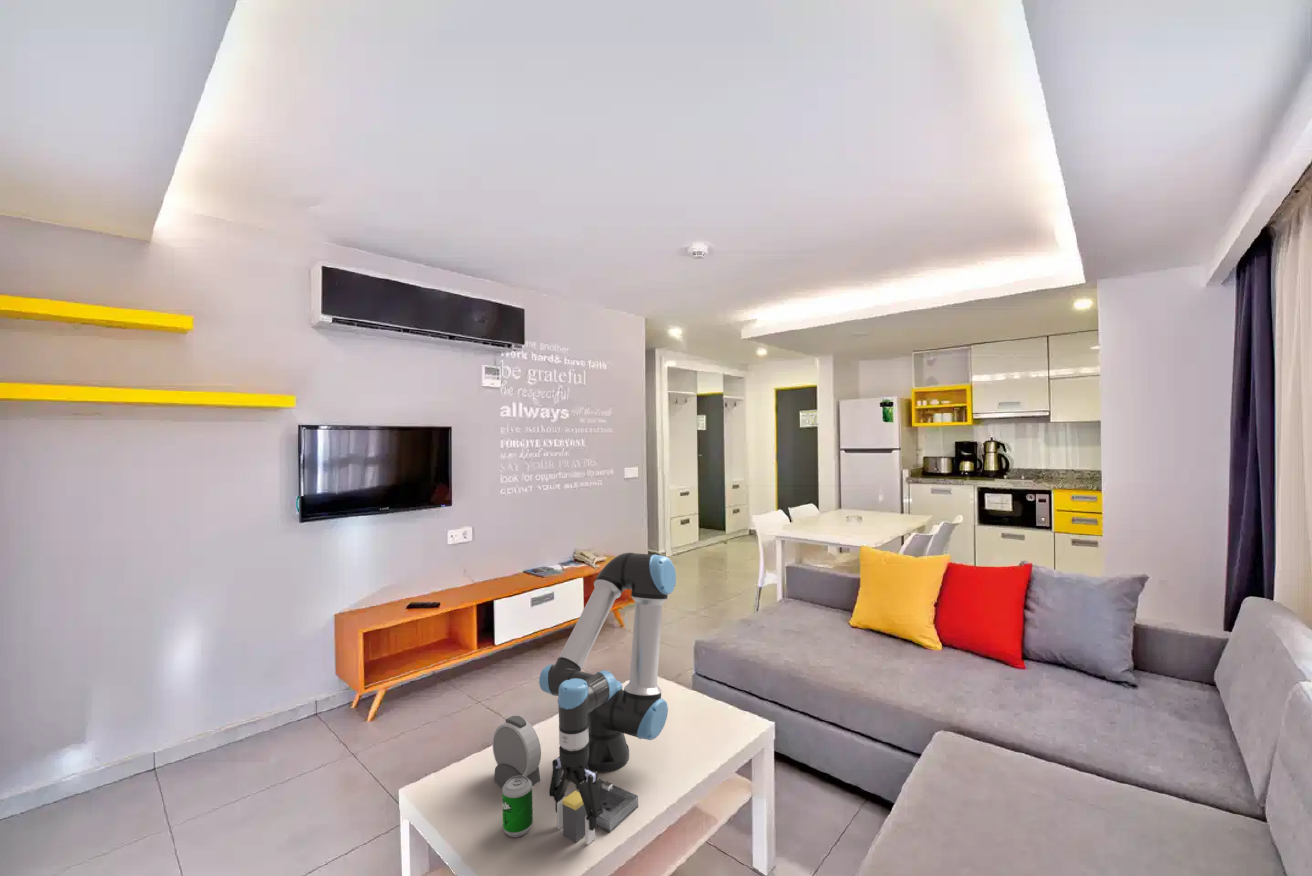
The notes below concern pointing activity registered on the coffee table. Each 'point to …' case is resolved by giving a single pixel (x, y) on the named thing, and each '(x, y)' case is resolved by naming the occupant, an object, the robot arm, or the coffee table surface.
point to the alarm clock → (516, 751)
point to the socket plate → (614, 805)
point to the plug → (574, 817)
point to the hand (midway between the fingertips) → (575, 833)
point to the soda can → (517, 806)
